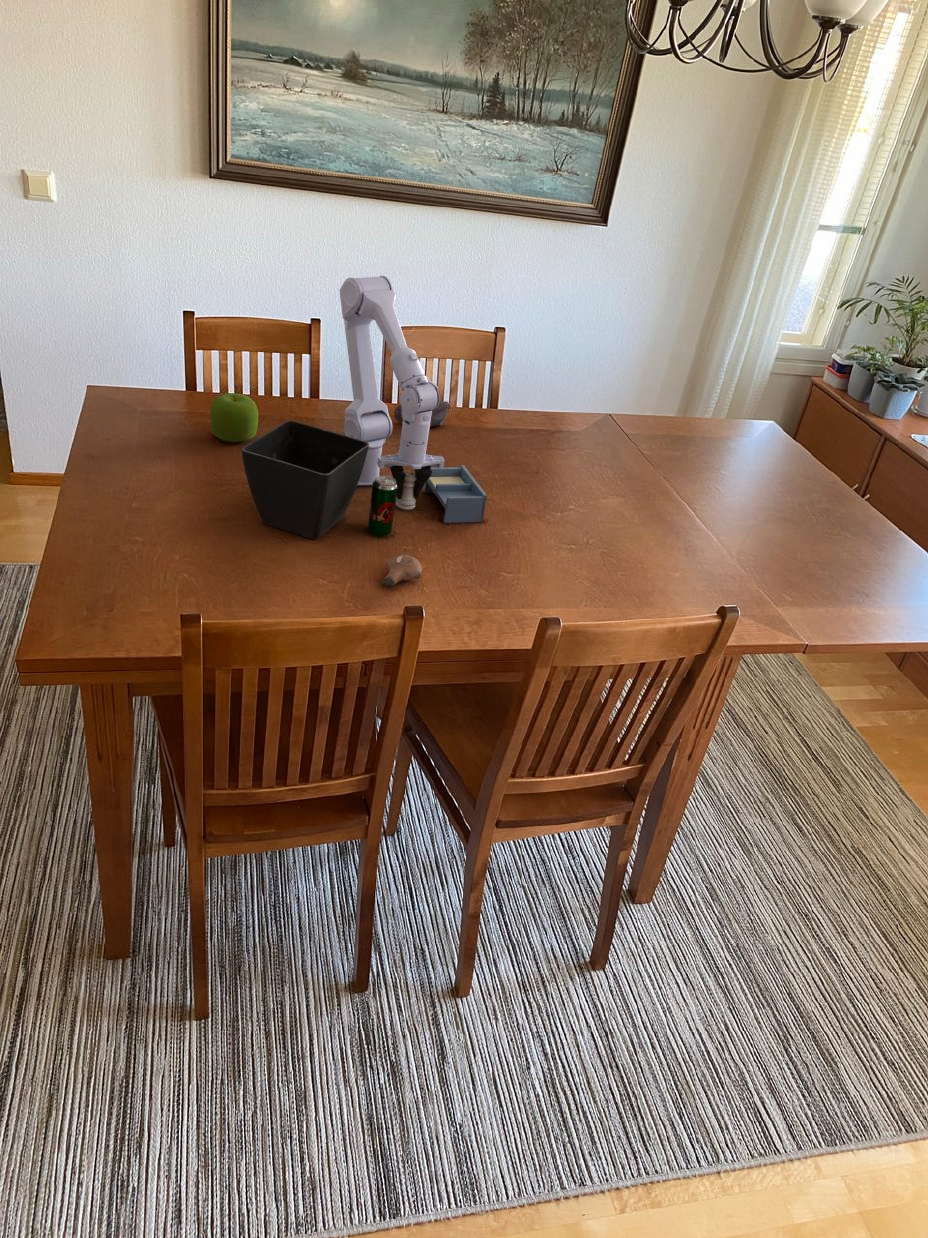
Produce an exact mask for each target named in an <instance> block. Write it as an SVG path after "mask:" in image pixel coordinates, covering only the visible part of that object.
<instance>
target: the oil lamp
mask: <svg viewBox="0 0 928 1238" xmlns="http://www.w3.org/2000/svg"><path fill="white" fill-rule="evenodd" d="M385 565H386V567H387V570H388V574H387V575H386V576H385V577H383V578H382V579H381V583H382V585H383V586H385V587H386V586H387V587H388V586H389V587H395V585H396V584H398V583H401V582H406V581H412V580H416V579H417V580H418V579H421V578H422V576H423V575H422V574H423V573H422V570H423V568H422V564H421V562H420V561H419V560H418V559H417V558H415V557H414V556H411V555H407V554H401V555H397V556H394V557H392V558H388V559H387V560H386V561H385Z"/></svg>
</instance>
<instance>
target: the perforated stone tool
mask: <svg viewBox="0 0 928 1238" xmlns="http://www.w3.org/2000/svg"><path fill="white" fill-rule="evenodd" d="M450 407H451V404H450V403H449V401H445V400H440V401H439V405H438V406H437V408H436V409H434V410H430V411H432V414H431V421H430V427H436V428H437V427H442V426H443V425H444V424H445V421H446V419H447V417H448V414H449V412H450ZM401 414H402V407H401V404H398V405H397V406H396V407H395V409H394V412H393V416H394V418H395V420H397V422H400V423H402V424H403V418H402V415H401Z"/></svg>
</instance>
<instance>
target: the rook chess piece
mask: <svg viewBox="0 0 928 1238" xmlns="http://www.w3.org/2000/svg"><path fill="white" fill-rule="evenodd" d="M404 473H405V474H406V476H405V479H404V483H403V487H402V496H401V499H398V498H397V497H396V502H395V506H396V507H397V508H398V509H400V510H403V511H411V510H414V508H415V507H416V502H417V501H416V499H415V498H414V495H413V487H414V485H415V484H414V481H415V480H416V479H417V478H416V476H415V472H414V471H410V470H407V471H406V470H404Z"/></svg>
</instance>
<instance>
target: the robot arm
mask: <svg viewBox="0 0 928 1238" xmlns="http://www.w3.org/2000/svg"><path fill="white" fill-rule="evenodd" d="M339 298H340V306H341V315H342V320H343V323H344V332H345V340H346V341H345V342H346V349H347V357H348V364H349V365H348V366H349V372H350V383H351V390H352V398H353V400H352V401H351V403H350V404H349V405H348V406H347V407H346V408H345V410H344V423H343V433H344V436H348V437H351V438H355V439H358V440H361V441H365V442H367V443H369V447H368V452H367V456H366V459H365V463H364V467H363V470H362V473H361V476H360V479H359V482H358V485H357V486H372V484H373V482H374V481H375V478H376V477H377V476H381V475H380V472H381V471H380V469H385V468H389V469H390V472H391V477H392V478H394V479H395V480H396V484H397V495H396V499H397V498H398V499H401V496H402V487H403V483H404V479H405V476H406V474H405V473H404V472H405V468H411V469H412V470H414V473H415V476H416V478H417V479H416V480H415V481H414V484H415V485H414V487H413V495H414V498H415V500H416V499H419V496H420V494H421V491H422V489H424V484H425V483H426V481H427V480H428V479H429V478H430V477H431V475H432V470H431V468H445V458H444V457H443V456H441V455H431V454H427V447H428V441H429V435H430V428H431V426H430V421H431V414H432V411H430V410H434V409H436V408H437V406H438V405H439V401H441V397H440V391H439V388H438V386H437V385H436V383H435V382H433V381H432V380H431V379H430V378H429V376H426V374H425V371H424V369H423V366H422V364H421V362H420V359H419V357H418V355H417V352H416V351H415V350H414V349H413V348H410V347H408V344H407V342H406V338H405V336H404V333H403V330H402V326H401V323H400V320H399V317H398V315H397V312H396V308H395V303H396V300H397V294H396V292H395V290H394V286H393V283H392V281H391V280H390V278H389V277H388V276H385V275H379V276H369V277H368V276H366V277H347V278H346V279H345V280H344V281H343V283H342V285H341V287H340V288H339ZM373 321H375V323H376V325H377V327H378V329H379V331H380V333H381V334H382V337H383V339H384V340H385V343H386V345H387V346H388V348H389V351H390V353H391V356H390V359H389V364H390V367H391V368H392V371H393V373H394V376H395V378H396V380H397V383H398V385H399V387H400V390H401V394H399V403H400V404H401V407H402V414H401V415H402V418H403V423H402V426H401V434H400V441H399V448H398V453H394V454H387V455H382V453H383V445H384V444H386V441H387V439H388V438H390V436H391V435H392V433H393V421H392V418H391V416H390V414H389V408H388V405H387V404H386V403H385V402H383V401H382V400H380V399H379V396H378V387H377V378H376V369H375V361H374V353H373V344H372V342H373V341H372V334H371V323H372V322H373ZM400 404H399V405H400Z"/></svg>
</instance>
